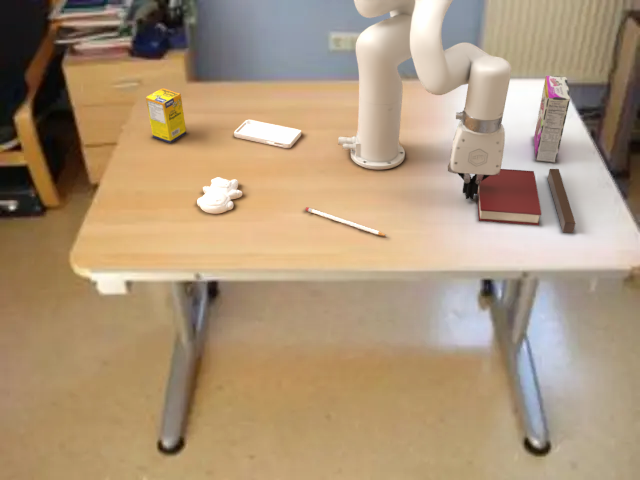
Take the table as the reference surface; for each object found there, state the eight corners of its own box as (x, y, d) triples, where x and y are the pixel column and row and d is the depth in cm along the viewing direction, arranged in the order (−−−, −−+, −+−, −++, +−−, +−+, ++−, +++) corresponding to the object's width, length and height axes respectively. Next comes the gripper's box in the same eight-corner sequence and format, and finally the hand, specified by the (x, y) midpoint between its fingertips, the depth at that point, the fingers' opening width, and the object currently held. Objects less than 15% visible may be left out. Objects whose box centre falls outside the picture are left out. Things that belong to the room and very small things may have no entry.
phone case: (302, 134, 173) (247, 123, 178) (301, 129, 172) (247, 118, 177) (289, 149, 168) (233, 137, 173) (289, 144, 167) (233, 132, 172)
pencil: (307, 209, 148) (307, 206, 148) (387, 236, 141) (387, 233, 141) (305, 211, 148) (305, 208, 147) (385, 238, 140) (385, 235, 140)
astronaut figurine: (249, 186, 156) (248, 175, 154) (226, 217, 147) (225, 205, 145) (213, 179, 158) (212, 168, 156) (188, 209, 149) (187, 197, 147)
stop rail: (562, 232, 142) (565, 222, 140) (547, 177, 158) (549, 168, 156) (572, 232, 142) (575, 222, 140) (556, 178, 157) (558, 168, 156)
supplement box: (187, 133, 174) (181, 93, 167) (170, 144, 170) (164, 103, 163) (168, 127, 177) (162, 87, 170) (152, 137, 173) (145, 97, 166)
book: (478, 221, 145) (480, 209, 143) (476, 178, 158) (478, 167, 156) (538, 225, 144) (541, 213, 142) (531, 182, 156) (533, 170, 154)
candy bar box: (532, 137, 172) (545, 74, 161) (553, 139, 171) (567, 76, 161) (533, 161, 163) (547, 96, 153) (556, 163, 162) (571, 98, 152)
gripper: (444, 126, 137) (434, 203, 149) (522, 131, 136) (506, 208, 147) (443, 108, 143) (433, 183, 155) (518, 112, 142) (503, 188, 153)
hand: (469, 195), depth 151 cm, fingers closed
